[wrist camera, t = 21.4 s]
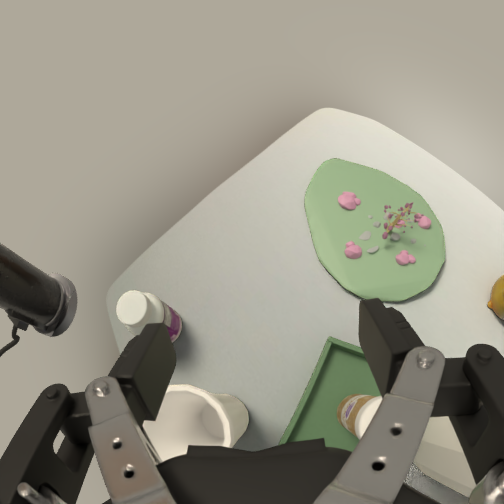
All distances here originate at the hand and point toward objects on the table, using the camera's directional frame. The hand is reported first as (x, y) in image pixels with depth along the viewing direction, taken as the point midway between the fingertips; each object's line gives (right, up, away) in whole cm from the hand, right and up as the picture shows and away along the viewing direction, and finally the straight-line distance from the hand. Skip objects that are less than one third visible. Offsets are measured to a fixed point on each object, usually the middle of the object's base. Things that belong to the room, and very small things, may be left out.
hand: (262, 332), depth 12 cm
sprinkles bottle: (+12, -16, +18) cm, 27 cm away
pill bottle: (-12, -7, +27) cm, 31 cm away
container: (+26, -20, +15) cm, 36 cm away
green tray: (+12, -16, +19) cm, 27 cm away
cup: (-4, -17, +21) cm, 27 cm away
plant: (+17, +7, +30) cm, 35 cm away
